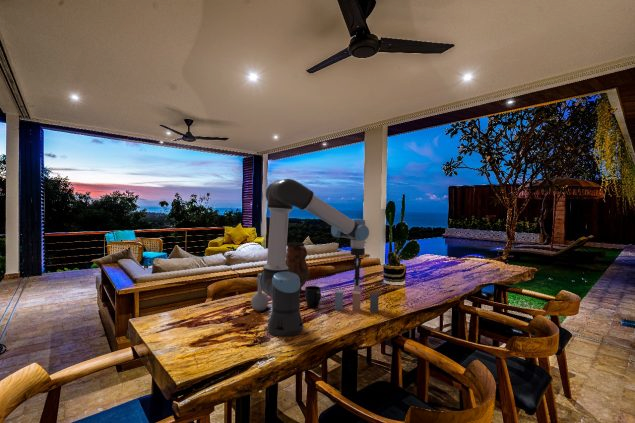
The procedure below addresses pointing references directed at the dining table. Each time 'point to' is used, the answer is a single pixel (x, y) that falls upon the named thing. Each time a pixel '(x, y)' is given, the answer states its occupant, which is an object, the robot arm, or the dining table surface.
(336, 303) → the slate block
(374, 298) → the charcoal block
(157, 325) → the dining table surface
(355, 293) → the terracotta block
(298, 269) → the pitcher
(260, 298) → the potion bottle
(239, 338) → the dining table surface
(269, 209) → the robot arm
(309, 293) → the mug
